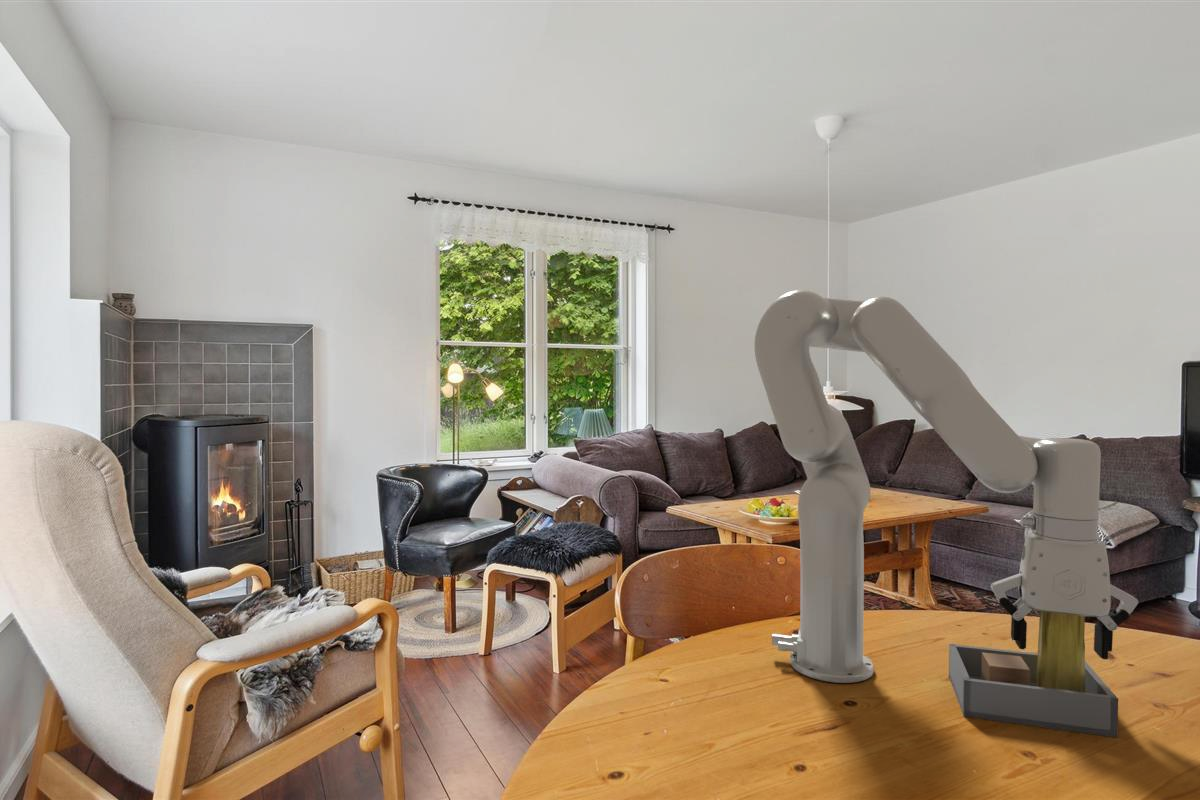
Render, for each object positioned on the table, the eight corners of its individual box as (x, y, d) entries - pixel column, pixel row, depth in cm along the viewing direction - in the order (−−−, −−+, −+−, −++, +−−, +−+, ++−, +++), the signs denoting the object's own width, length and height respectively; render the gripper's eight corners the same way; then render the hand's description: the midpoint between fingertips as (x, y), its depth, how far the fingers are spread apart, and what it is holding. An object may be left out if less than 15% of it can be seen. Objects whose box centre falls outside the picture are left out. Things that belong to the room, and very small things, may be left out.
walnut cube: (988, 701, 98) (989, 665, 97) (981, 686, 102) (981, 652, 102) (1029, 706, 96) (1030, 670, 96) (1020, 690, 101) (1020, 656, 101)
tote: (963, 716, 95) (964, 680, 95) (948, 675, 108) (949, 643, 108) (1117, 737, 89) (1118, 698, 89) (1082, 692, 102) (1082, 658, 102)
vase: (1096, 715, 94) (1098, 609, 93) (1045, 710, 95) (1047, 606, 94) (1074, 694, 99) (1076, 595, 99) (1027, 691, 101) (1028, 592, 100)
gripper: (999, 528, 96) (995, 652, 96) (1151, 539, 90) (1145, 670, 91) (988, 518, 103) (984, 633, 103) (1128, 527, 97) (1123, 649, 98)
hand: (1059, 650), depth 97 cm, fingers open, 9 cm apart
